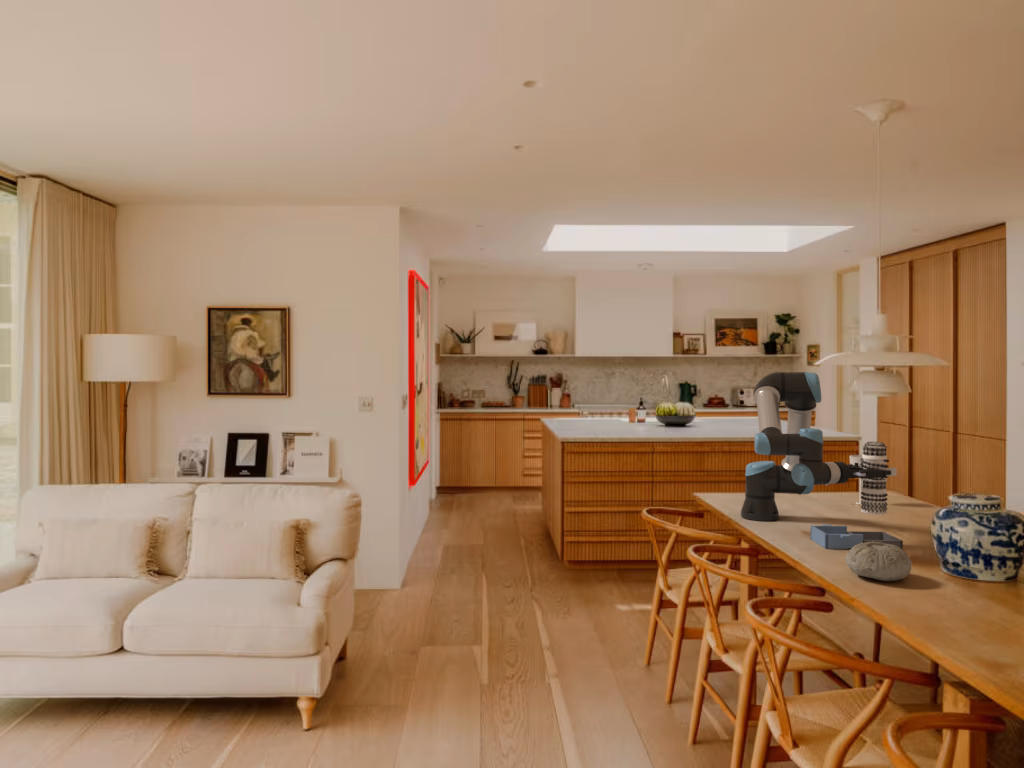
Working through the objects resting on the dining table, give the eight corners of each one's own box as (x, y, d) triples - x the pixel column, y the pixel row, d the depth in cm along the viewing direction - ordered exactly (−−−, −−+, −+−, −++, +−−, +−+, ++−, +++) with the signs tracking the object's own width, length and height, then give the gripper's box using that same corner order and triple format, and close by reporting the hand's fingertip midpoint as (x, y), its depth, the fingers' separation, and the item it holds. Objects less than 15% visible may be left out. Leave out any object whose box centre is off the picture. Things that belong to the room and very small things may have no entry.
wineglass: (849, 501, 336) (849, 454, 336) (872, 503, 332) (872, 455, 332) (848, 504, 329) (849, 456, 328) (872, 506, 324) (872, 457, 324)
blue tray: (827, 550, 249) (828, 535, 249) (808, 537, 267) (808, 524, 266) (865, 550, 249) (865, 536, 248) (843, 538, 266) (843, 524, 266)
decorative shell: (892, 590, 205) (893, 555, 205) (833, 575, 220) (833, 542, 219) (922, 579, 216) (923, 546, 215) (864, 565, 230) (864, 534, 230)
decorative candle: (876, 509, 262) (877, 440, 262) (894, 514, 253) (895, 443, 252) (854, 510, 261) (854, 441, 260) (871, 515, 251) (871, 443, 251)
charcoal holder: (862, 549, 251) (863, 540, 250) (845, 539, 264) (845, 531, 264) (902, 549, 250) (902, 540, 250) (883, 539, 264) (883, 531, 264)
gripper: (811, 478, 261) (861, 475, 268) (857, 488, 241) (909, 485, 248) (811, 458, 261) (861, 455, 268) (857, 466, 240) (910, 463, 247)
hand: (884, 469), depth 258 cm, fingers closed on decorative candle, 9 cm apart
